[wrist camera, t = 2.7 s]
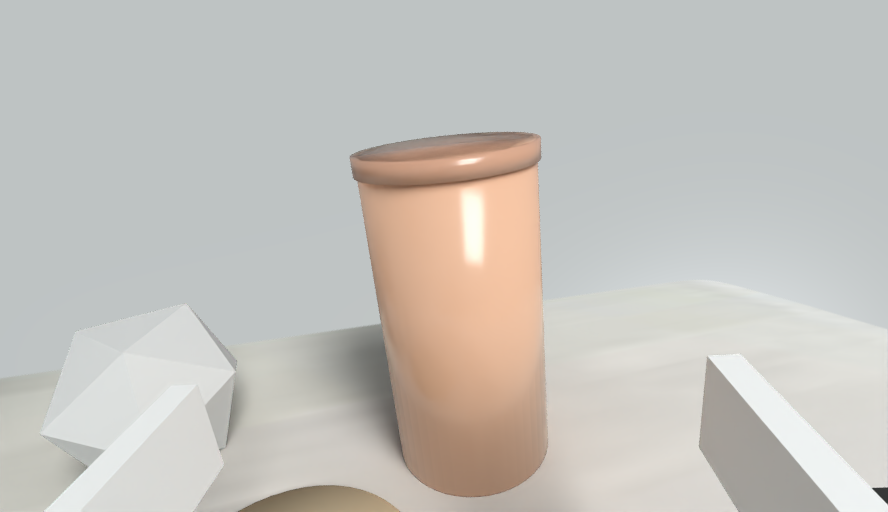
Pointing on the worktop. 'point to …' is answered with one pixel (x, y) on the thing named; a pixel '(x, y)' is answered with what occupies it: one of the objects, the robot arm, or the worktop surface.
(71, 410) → the die
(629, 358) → the worktop surface
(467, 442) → the jar
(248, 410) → the worktop surface
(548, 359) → the worktop surface
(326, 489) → the disc
